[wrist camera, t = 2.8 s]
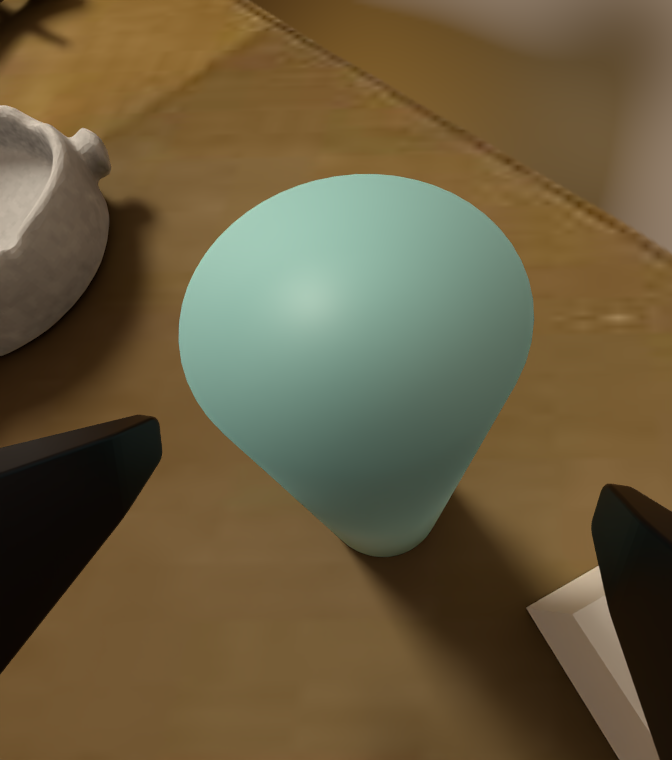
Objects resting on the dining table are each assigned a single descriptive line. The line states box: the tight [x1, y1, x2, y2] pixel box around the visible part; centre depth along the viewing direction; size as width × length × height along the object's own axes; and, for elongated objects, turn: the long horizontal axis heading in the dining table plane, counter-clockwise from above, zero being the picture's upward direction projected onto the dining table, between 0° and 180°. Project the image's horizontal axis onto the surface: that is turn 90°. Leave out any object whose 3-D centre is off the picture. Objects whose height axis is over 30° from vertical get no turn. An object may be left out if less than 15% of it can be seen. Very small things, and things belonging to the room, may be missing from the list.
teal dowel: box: [179, 174, 534, 557], centre depth 12 cm, size 4×4×13 cm
